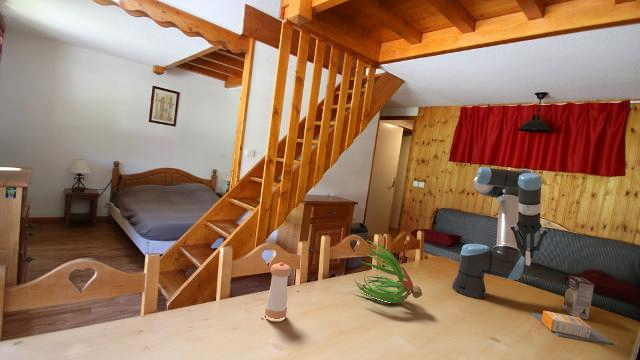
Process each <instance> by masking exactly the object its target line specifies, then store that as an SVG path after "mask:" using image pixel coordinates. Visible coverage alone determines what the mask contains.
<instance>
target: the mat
mask: <svg viewBox="0 0 640 360" xmlns="http://www.w3.org/2000/svg"><path fill="white" fill-rule="evenodd" d="M530 315H531V316H533V317H534V318H535V319H536V320H537V321H539V322H540V323H541V324H542V325H544V326H545V327H546V328H547V329H549V328H548V327H547V326H546V325H545V324H544V323H543V322H542V315H543V313H537V312H530ZM550 331H551V332H552V333H554V335H556V336H557V337H559V338H560V337H561V338H566V339H567V338H568V339H573V340H574V339H576V340H582V341H588V342H593V343H594V342H595V343H600V344H606V345H607V344H608V345H614V342H613V341H612V340H610V339H609V338H607V337H606V336H604V335H602V334H601V333H599V332H598V331H596V330H595V329H594V328H592V327H591V330H590V335H589V338H584V337H580V336H575V335H571V334H566V333H561V332H556V331H552V330H550Z"/></svg>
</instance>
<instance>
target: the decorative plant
mask: <svg viewBox="0 0 640 360" xmlns="http://www.w3.org/2000/svg"><path fill="white" fill-rule="evenodd" d="M366 241H367V242H368V243H367V244H368V247H369V248H370V250H366V249H365V250H364V249H363V250H362V252H365V254H366V256H369V257H370V258H371V259H374V260H375V261H377V262H378V263H379V264H381V265H382V266H381V265H377V264H374V263H370V262H369V263H368V262H367V261H366V262H364V261H361V260H360V262H361V263H362V264H365V265H367V266H370V267H372V268H371V269H370V268H369V270H373V269H376V270H373V271H375V272H378V273H379V272H380V273H382V274H385V275H386V274H387V275H388V276H390V275H391V276H395V277H397V279H398V280H393V279H391V278H388V277H386V276H384V275H380V274H375V273H373V275H375V276H372V273H371V272H370V273H369V274H371V276H370V275H369V276H367V275H365V277H366V278H367V279H368V280H366V278H365V277H363V281H364V284H361V283H359V282H358V281H356V279H355V278H353V280H354V282H355V284H356V286H357V287H358V289H359V290H360V291H361V290H362V291H363V292H364V293H366V294H368V296H369V295H370V296H371V297H374V298H377V299H380V300H383V301H387V302H391V303H393V304H394V302H396V304H399V303H401V302H404V301H406V300H407V299H408V298H409V296H410V295H411V294H412V297H413V298H414V299H419V298H420V297H422V296H423V292H422V289H421V287H420V286H419V285H417V284H416V285H414V284H413V280H412V278H411V277H410V276H409V274H408V272H407V270H406V269H405V267H404V265H400V263H399V260H398V259H397V258H396V257H395V256H394V254H393V253H392V252H391V251H389V250H388V249H387V248H385V247H384V246H382V245H381V244H379V243H378V242H376V241H375V243H374V242H372V241H371V240H369V239H366ZM370 243H371V244H373V246H375V247H376V248H377V249H379V250H377V249H373V248H371V245H370ZM377 244H378V245H377ZM380 250H381V251H380ZM368 253H369V254H368ZM371 254H372V255H371ZM377 270H379V271H377ZM371 278H373V279H371ZM376 283H379V284H376ZM370 284H371V285H372V286H371V285H370ZM367 286H368V287H367ZM389 288H392V289H389ZM393 288H394V289H395V288H396V290H394V289H393ZM362 291H361V292H362ZM363 292H362V293H363ZM364 293H363V294H364ZM366 294H364V295H366ZM366 296H367V295H366ZM368 296H367V297H368ZM398 302H399V303H398Z"/></svg>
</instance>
